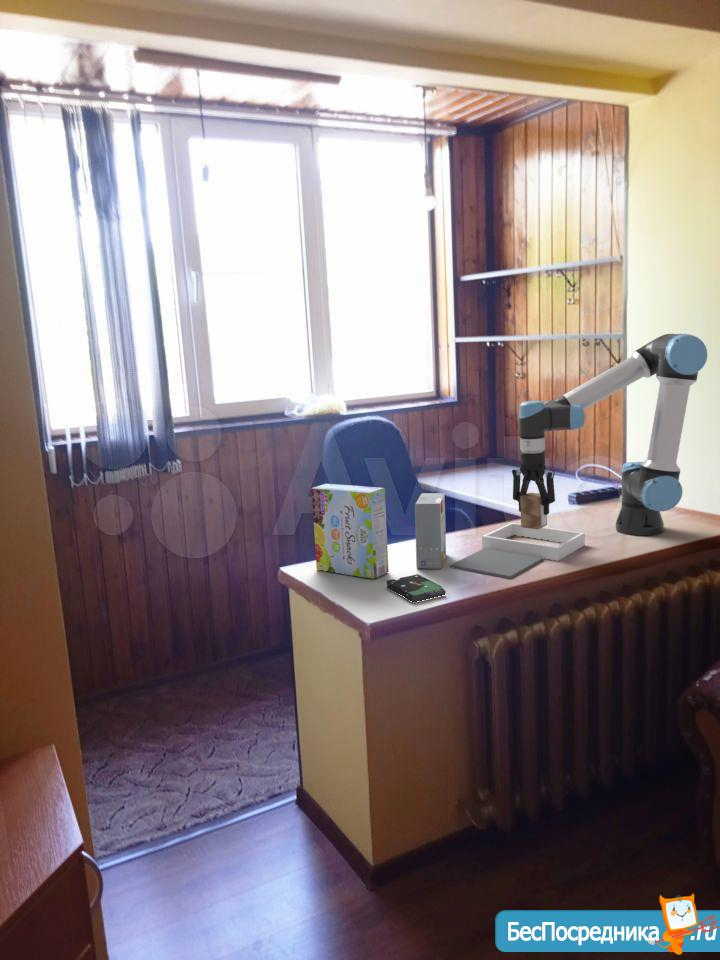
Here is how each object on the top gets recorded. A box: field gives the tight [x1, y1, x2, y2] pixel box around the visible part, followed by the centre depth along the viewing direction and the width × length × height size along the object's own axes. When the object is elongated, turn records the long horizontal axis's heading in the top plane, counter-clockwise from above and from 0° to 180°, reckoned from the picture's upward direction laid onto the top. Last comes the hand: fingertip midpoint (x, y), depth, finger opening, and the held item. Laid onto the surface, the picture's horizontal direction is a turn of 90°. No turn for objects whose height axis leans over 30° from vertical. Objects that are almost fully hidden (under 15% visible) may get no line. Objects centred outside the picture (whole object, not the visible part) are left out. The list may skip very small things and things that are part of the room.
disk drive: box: [386, 573, 446, 602], centre depth 207 cm, size 10×3×15 cm
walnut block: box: [520, 492, 548, 529], centre depth 240 cm, size 6×6×10 cm
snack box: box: [310, 483, 390, 580], centre depth 225 cm, size 22×9×26 cm, turn 56°
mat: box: [449, 548, 544, 580], centre depth 227 cm, size 20×20×1 cm
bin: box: [481, 522, 586, 562], centre depth 242 cm, size 26×19×4 cm
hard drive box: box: [414, 492, 447, 570], centre depth 231 cm, size 16×8×20 cm, turn 168°
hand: (534, 523), depth 241 cm, fingers closed on walnut block, 6 cm apart
